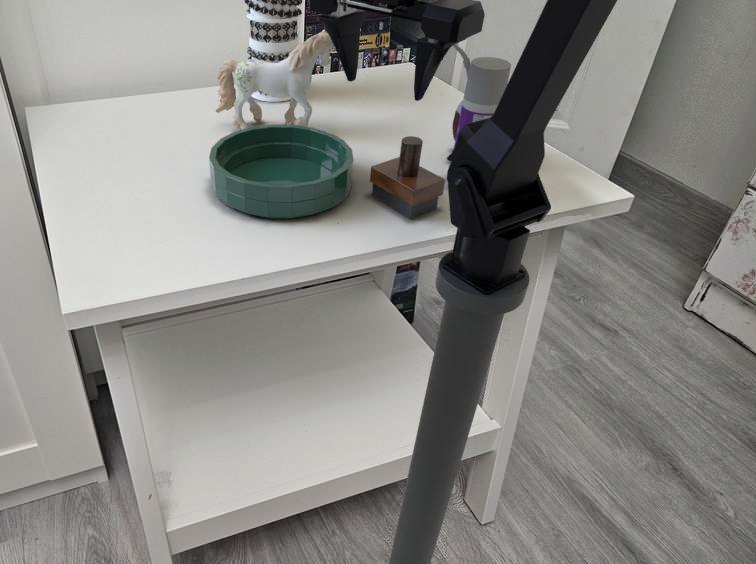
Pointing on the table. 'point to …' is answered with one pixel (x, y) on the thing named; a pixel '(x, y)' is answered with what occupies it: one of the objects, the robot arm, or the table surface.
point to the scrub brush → (407, 182)
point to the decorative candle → (272, 34)
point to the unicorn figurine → (274, 80)
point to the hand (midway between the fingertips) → (384, 89)
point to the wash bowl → (281, 170)
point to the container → (483, 89)
